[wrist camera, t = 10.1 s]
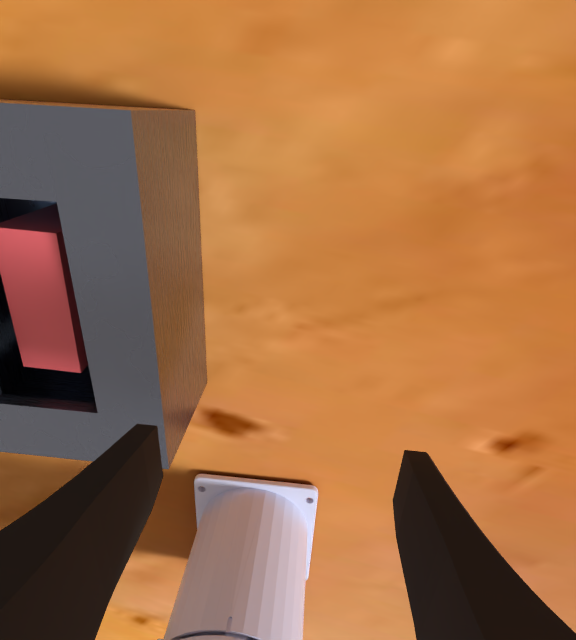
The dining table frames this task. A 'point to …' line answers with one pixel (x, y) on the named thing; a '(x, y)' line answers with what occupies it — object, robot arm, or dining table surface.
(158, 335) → the grey box with slot
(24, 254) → the pink flat block
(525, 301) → the dining table surface
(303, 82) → the dining table surface
